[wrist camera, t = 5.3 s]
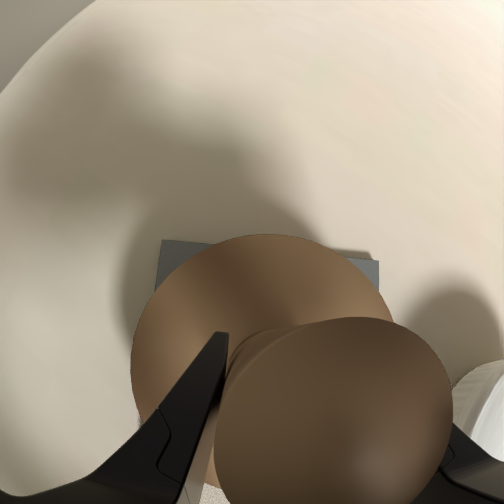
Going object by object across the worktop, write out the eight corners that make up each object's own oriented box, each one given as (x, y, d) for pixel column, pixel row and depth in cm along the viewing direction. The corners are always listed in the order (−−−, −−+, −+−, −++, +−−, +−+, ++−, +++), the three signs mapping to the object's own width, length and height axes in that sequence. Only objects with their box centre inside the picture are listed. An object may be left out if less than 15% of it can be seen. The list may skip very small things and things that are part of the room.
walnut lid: (228, 520, 12) (229, 675, 2) (94, 322, 15) (-79, 285, 4) (425, 391, 15) (590, 414, 4) (304, 199, 17) (384, 34, 6)
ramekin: (468, 500, 15) (506, 519, 10) (386, 467, 16) (425, 496, 11) (530, 385, 17) (572, 387, 12) (465, 326, 18) (516, 320, 13)
